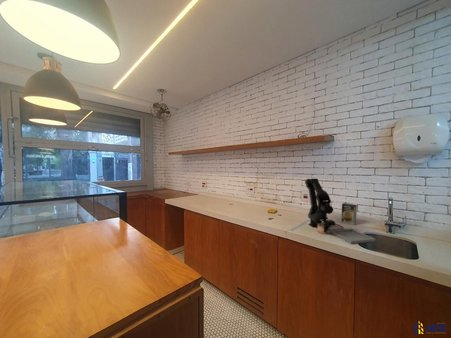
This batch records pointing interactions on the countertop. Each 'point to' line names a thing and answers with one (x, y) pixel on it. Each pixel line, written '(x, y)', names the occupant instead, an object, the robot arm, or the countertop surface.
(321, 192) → the robot arm
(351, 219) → the coffee box
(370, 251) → the countertop surface
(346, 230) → the tray
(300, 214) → the countertop surface
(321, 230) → the tan rounded cone
